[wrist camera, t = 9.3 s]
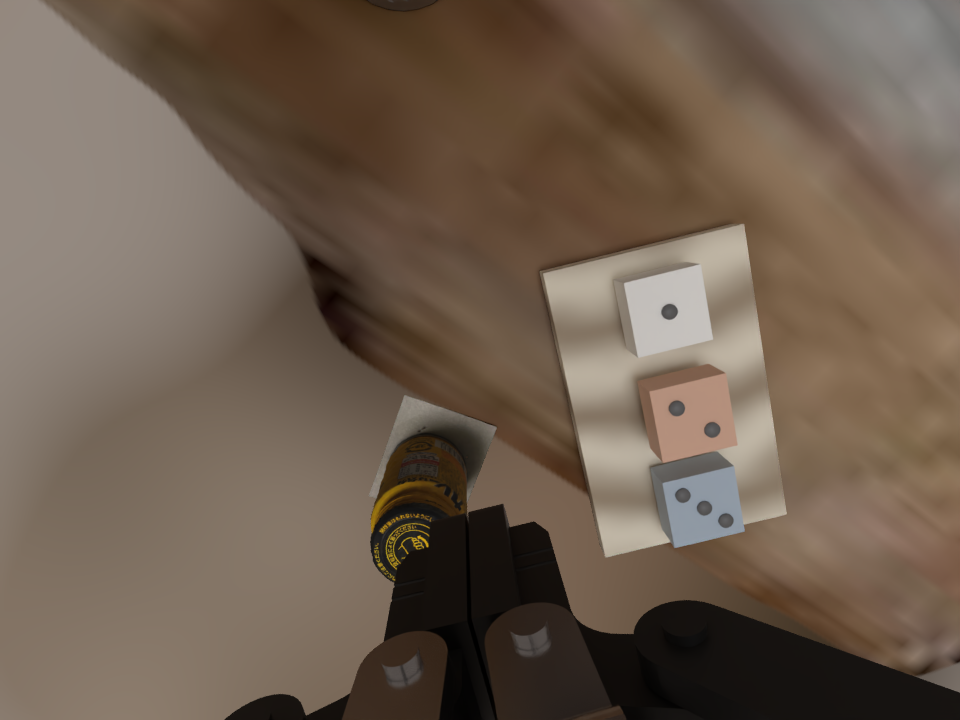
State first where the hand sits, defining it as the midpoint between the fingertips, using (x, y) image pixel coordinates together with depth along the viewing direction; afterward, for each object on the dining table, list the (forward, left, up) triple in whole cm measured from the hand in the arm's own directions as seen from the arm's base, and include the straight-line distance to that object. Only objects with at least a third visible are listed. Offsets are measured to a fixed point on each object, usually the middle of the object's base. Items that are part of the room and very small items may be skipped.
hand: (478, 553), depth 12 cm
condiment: (+10, -5, -33) cm, 35 cm away
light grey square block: (+2, +13, -30) cm, 33 cm away
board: (+9, +13, -33) cm, 37 cm away
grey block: (+16, +13, -30) cm, 37 cm away
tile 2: (+9, +13, -29) cm, 33 cm away
